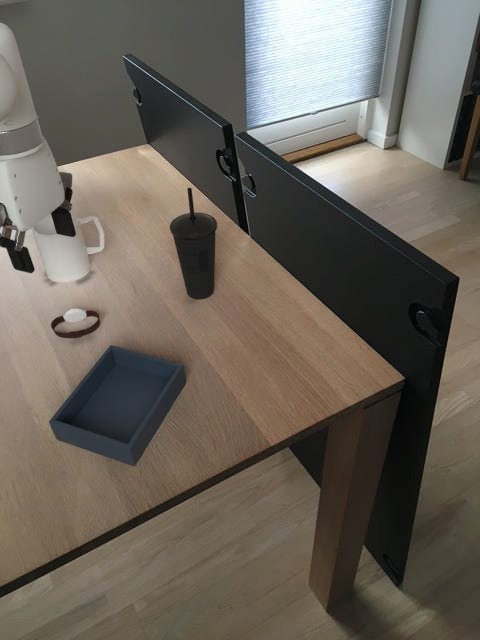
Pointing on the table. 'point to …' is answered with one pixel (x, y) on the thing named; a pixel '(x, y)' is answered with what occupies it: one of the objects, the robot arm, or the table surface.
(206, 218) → the drinking cup
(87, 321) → the table surface
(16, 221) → the robot arm
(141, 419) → the tray
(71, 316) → the watch
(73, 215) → the cup
